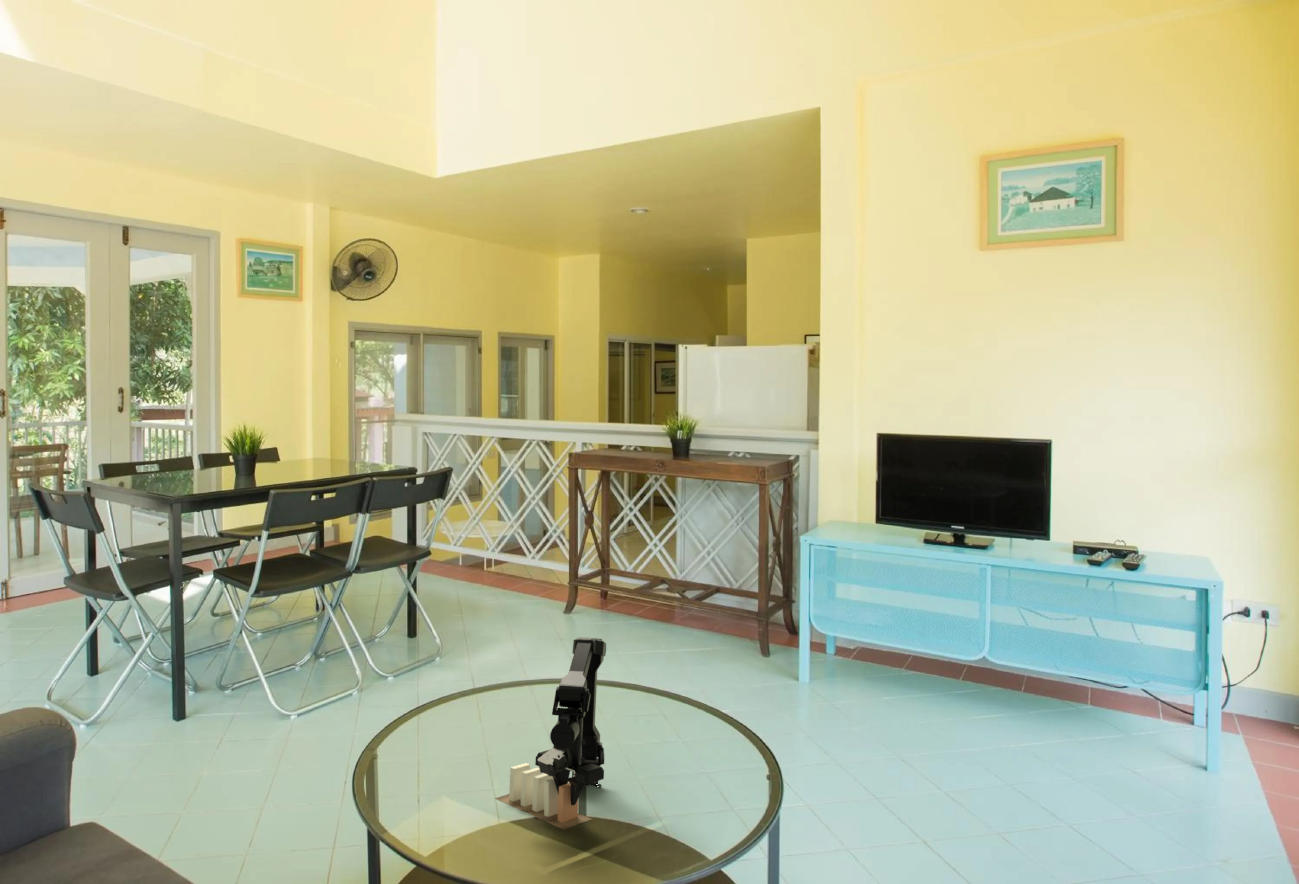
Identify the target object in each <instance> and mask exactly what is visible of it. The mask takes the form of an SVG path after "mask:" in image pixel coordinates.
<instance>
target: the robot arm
mask: <svg viewBox="0 0 1299 884" xmlns="http://www.w3.org/2000/svg"><path fill="white" fill-rule="evenodd" d="M572 642H573V645H572V654H573V657H572V660H571V664H570V667H569V671H568V674H566V675H565V676H563V677H562V678H561V680H560V682H559V685H558V686H556V688H555V689H556V690H555V693H554V694H555V695H554V700H553V706H552V711H551V712H552V713H551V716H557V717H558V718H557V721H556V723H555V725H554V726H553V727H552V729H551V730H550V734H549V736H550V737H549V738H550V742H551V744H552V745H553V747H552V748H551V749H548V750H543V751H540V752H538V753H537V755H536V757H535V762H534V763H535V766H537V767H538V768H540V772H541V774H544V773H545V774H547V775H548V776H552V777H553V779H554V781H555V785H556V788H557V792H558V795H559V786H561V785H565V784H568V783H570V785H571V805H572V806H573V805H575V804H576V802H577V800H578V801H579V798H580V796H581V794H582V792H583V790H584V788H585V787H586V786H592V787H594V786H595V788H597V786H602V784H601V783H599V781H601V780H604V779H605V769H604V768H603V767H602V765H604V764H605V749H604V747H603V742H601V734H600V732H599V730H598V728H597V726H596V711H597V710H596V707H597V706H596V704H597V703H596V702H597V687H598V686H597V683H598V669H599V668H600V667H601V665H602V663H604V659H605V658H604V657H606V653H607V642H605V641H604V640H603V639H602V638H597V637H596V638H593V637H576V638H575V639H573V641H572ZM558 706H559V707H558ZM570 774H571V777H570ZM598 783H599V784H598ZM596 784H598V785H596Z"/></svg>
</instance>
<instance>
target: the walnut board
mask: <svg viewBox="0 0 1299 884" xmlns="http://www.w3.org/2000/svg"><path fill="white" fill-rule="evenodd" d="M494 799H495V800H498V801H500V802H502V803H503V804H507V805H509V806H511V807H512V808H515V809H517V810H519V811H521V812H523V813H526V814H528V815H530V816H533V817H535V818H537V819H538V820H542V821H544V822H546V823H548V824H550V825H553V826H554V827H557V828H559V829H561V830H567V829H570V828H573V827H575V826H577V825H581V824H583V823H586V822H588V821H590V820H592V818H591V817H587V816H585V815H584V814H581V813H579V812H578V817H576V818H574V819H571V820H568V821H565V822H563V823H561V822H559V821H558V814H555V815H553V816H550V817H547V816H544V810H541V811H538V812H535V811H533V810H532V805H528V806H525V807H524V806H522V805H521V799H519V800H516V801H510V800H509V793H507V794H505V795H502V796H499V797H495V798H494Z"/></svg>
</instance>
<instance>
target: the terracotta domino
mask: <svg viewBox="0 0 1299 884" xmlns="http://www.w3.org/2000/svg"><path fill="white" fill-rule="evenodd" d="M578 811H579V799H578V800H577V802H576V804H575V805H573V806H572V805H571V785H570V783H569V782H568V784H565V785H561V786H559V798H558V821H559V822H561V823H563V822H565V821H568V820H571V819H574V818H576V817H578V813H579V812H578Z"/></svg>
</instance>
